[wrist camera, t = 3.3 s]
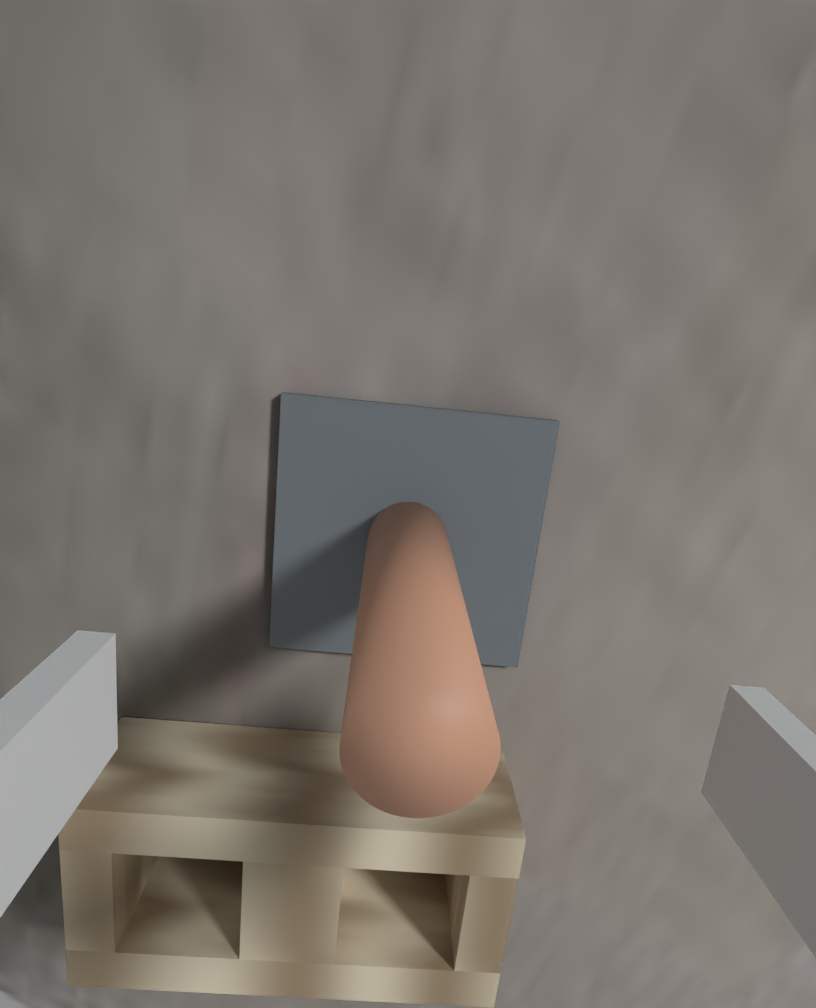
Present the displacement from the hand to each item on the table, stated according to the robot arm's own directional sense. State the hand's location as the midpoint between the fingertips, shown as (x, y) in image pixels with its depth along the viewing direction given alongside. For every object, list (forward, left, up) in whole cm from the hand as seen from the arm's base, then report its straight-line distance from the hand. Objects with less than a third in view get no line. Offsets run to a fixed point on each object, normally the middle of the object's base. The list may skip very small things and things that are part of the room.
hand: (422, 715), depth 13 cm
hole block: (-3, -13, -11) cm, 17 cm away
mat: (0, 0, -11) cm, 11 cm away
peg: (0, 0, -10) cm, 10 cm away
